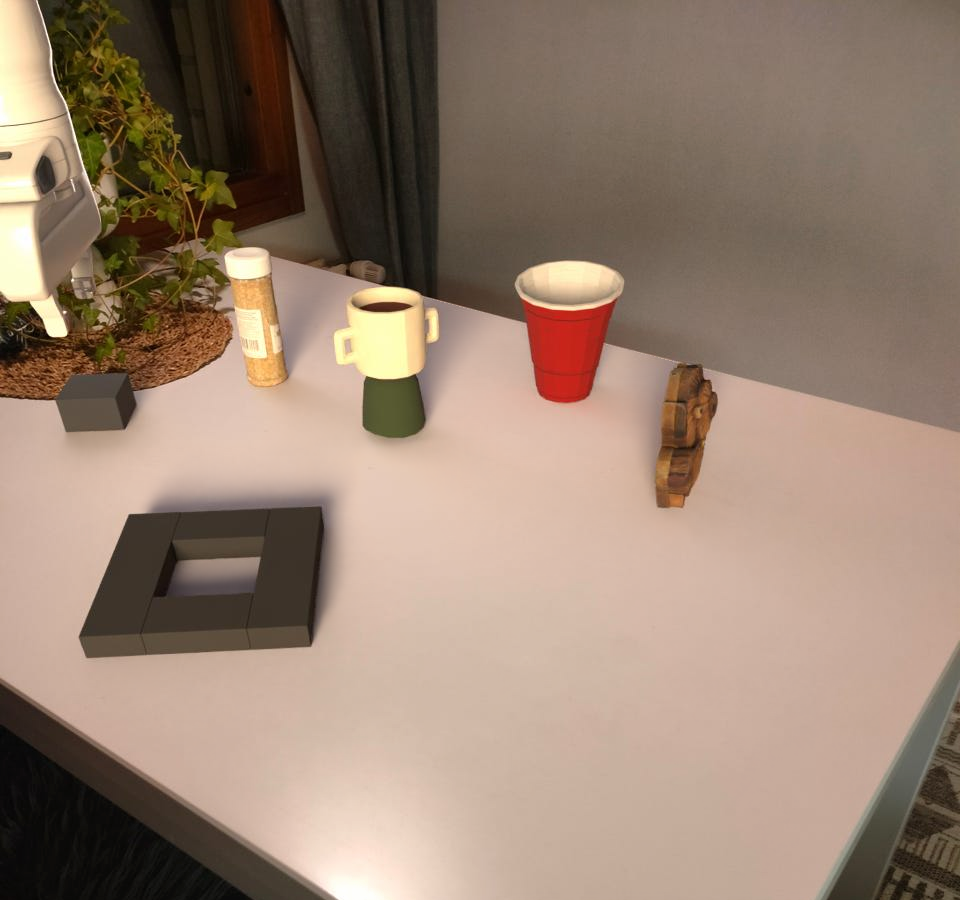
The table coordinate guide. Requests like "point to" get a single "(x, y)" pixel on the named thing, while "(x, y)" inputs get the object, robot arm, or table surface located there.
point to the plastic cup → (567, 323)
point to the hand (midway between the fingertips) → (74, 314)
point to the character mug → (388, 356)
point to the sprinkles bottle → (257, 315)
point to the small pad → (96, 402)
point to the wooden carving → (683, 433)
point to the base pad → (207, 618)
